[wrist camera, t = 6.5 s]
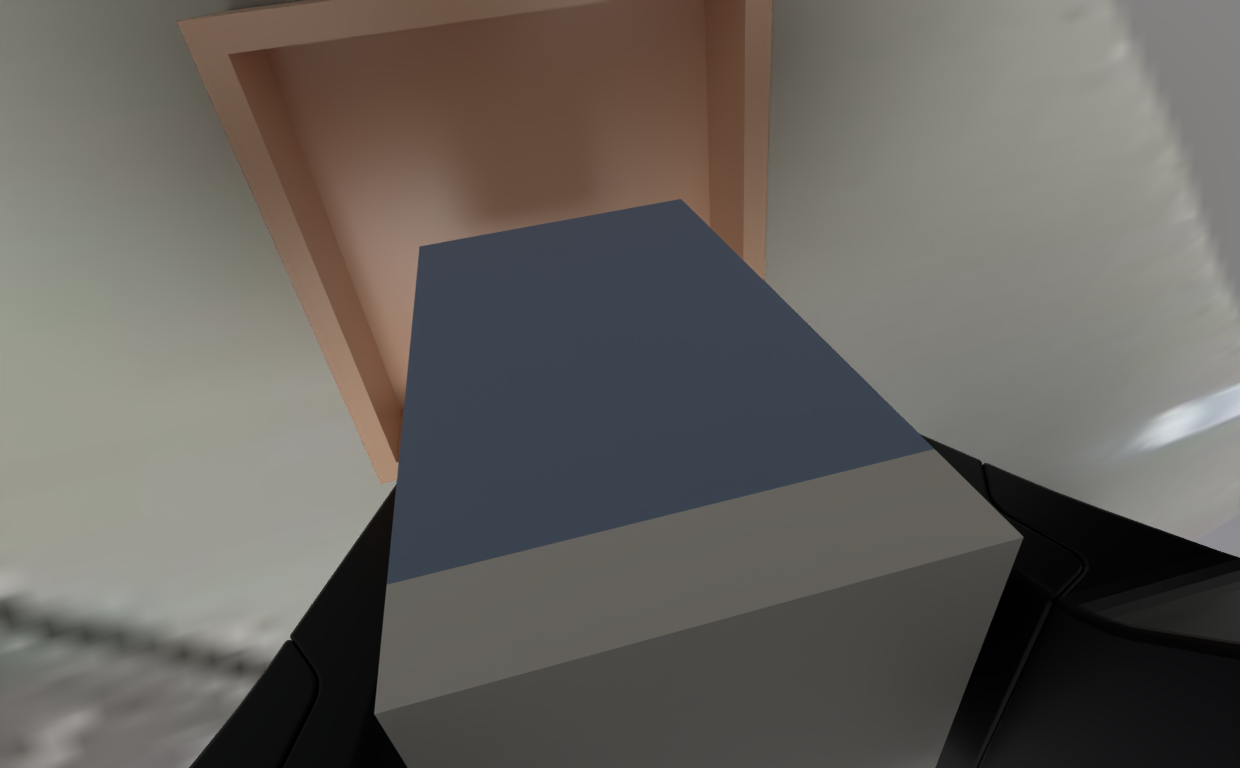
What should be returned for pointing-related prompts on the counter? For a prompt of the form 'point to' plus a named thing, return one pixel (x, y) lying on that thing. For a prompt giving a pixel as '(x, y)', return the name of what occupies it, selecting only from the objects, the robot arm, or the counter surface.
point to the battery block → (664, 521)
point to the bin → (475, 142)
